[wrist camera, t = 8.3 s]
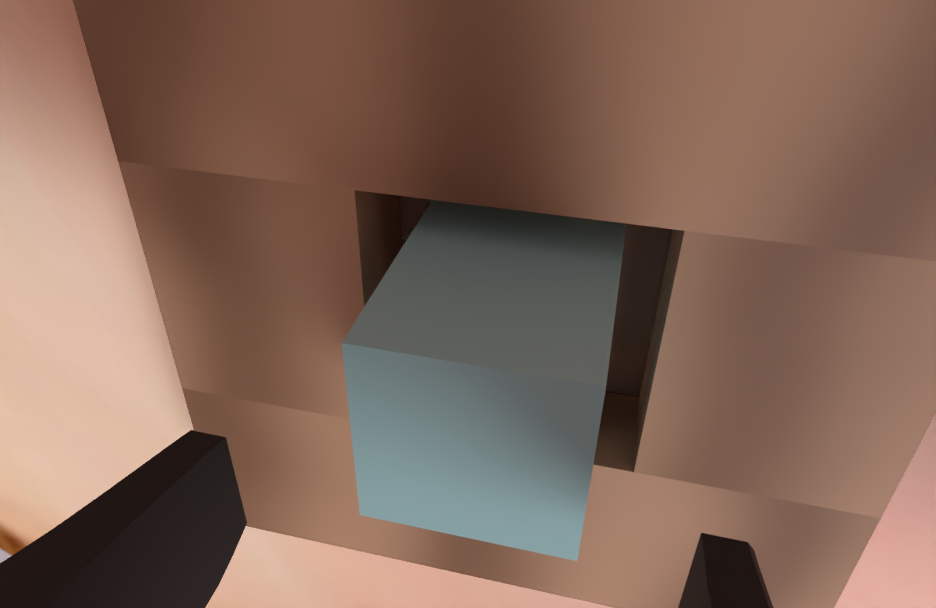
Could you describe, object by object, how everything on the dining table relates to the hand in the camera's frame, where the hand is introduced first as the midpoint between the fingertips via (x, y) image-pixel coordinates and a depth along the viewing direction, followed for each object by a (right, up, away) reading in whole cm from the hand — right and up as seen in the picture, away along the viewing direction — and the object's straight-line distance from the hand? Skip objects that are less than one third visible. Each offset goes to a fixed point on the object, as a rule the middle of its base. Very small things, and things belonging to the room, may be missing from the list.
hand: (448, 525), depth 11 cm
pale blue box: (+2, +4, +6) cm, 7 cm away
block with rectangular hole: (+2, +4, +6) cm, 7 cm away
